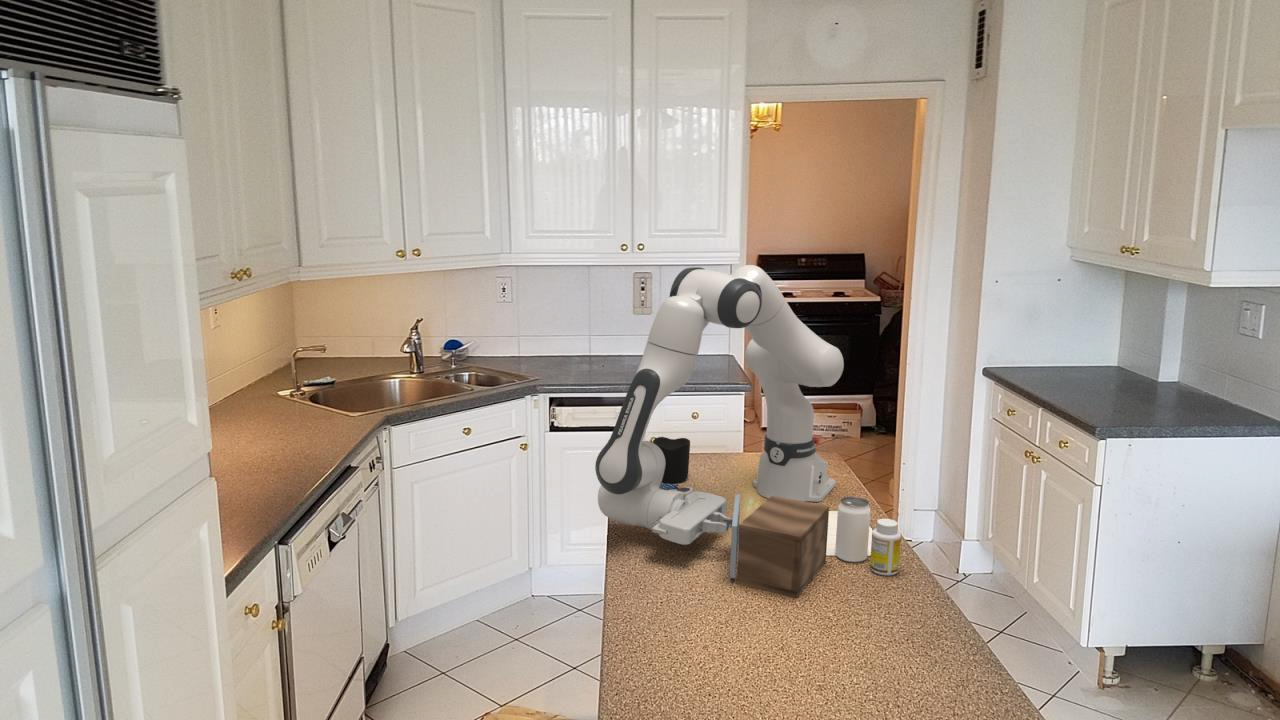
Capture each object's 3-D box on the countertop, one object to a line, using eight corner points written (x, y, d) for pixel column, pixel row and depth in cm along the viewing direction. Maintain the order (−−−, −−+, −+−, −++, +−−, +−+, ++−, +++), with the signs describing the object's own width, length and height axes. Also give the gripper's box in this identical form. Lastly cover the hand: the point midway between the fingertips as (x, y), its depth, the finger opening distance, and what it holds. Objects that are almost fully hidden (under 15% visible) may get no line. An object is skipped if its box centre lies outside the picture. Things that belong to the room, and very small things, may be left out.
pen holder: (671, 470, 239) (671, 433, 237) (696, 479, 232) (697, 441, 230) (644, 477, 233) (645, 440, 231) (670, 487, 226) (671, 448, 224)
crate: (769, 550, 189) (772, 495, 187) (825, 562, 184) (829, 506, 181) (736, 583, 174) (739, 524, 171) (797, 597, 168) (800, 537, 166)
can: (843, 547, 191) (847, 493, 189) (872, 556, 187) (876, 500, 185) (829, 557, 186) (832, 501, 184) (858, 566, 182) (862, 509, 180)
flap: (733, 541, 191) (735, 494, 189) (738, 542, 191) (740, 494, 188) (729, 577, 174) (731, 526, 172) (735, 578, 174) (737, 526, 171)
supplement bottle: (894, 564, 183) (897, 517, 181) (901, 577, 178) (905, 527, 176) (866, 564, 183) (869, 516, 181) (873, 576, 178) (876, 527, 176)
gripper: (646, 514, 181) (709, 528, 175) (690, 484, 199) (749, 496, 192) (645, 543, 182) (708, 559, 176) (689, 511, 200) (747, 523, 194)
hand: (730, 525), depth 184 cm, fingers closed
